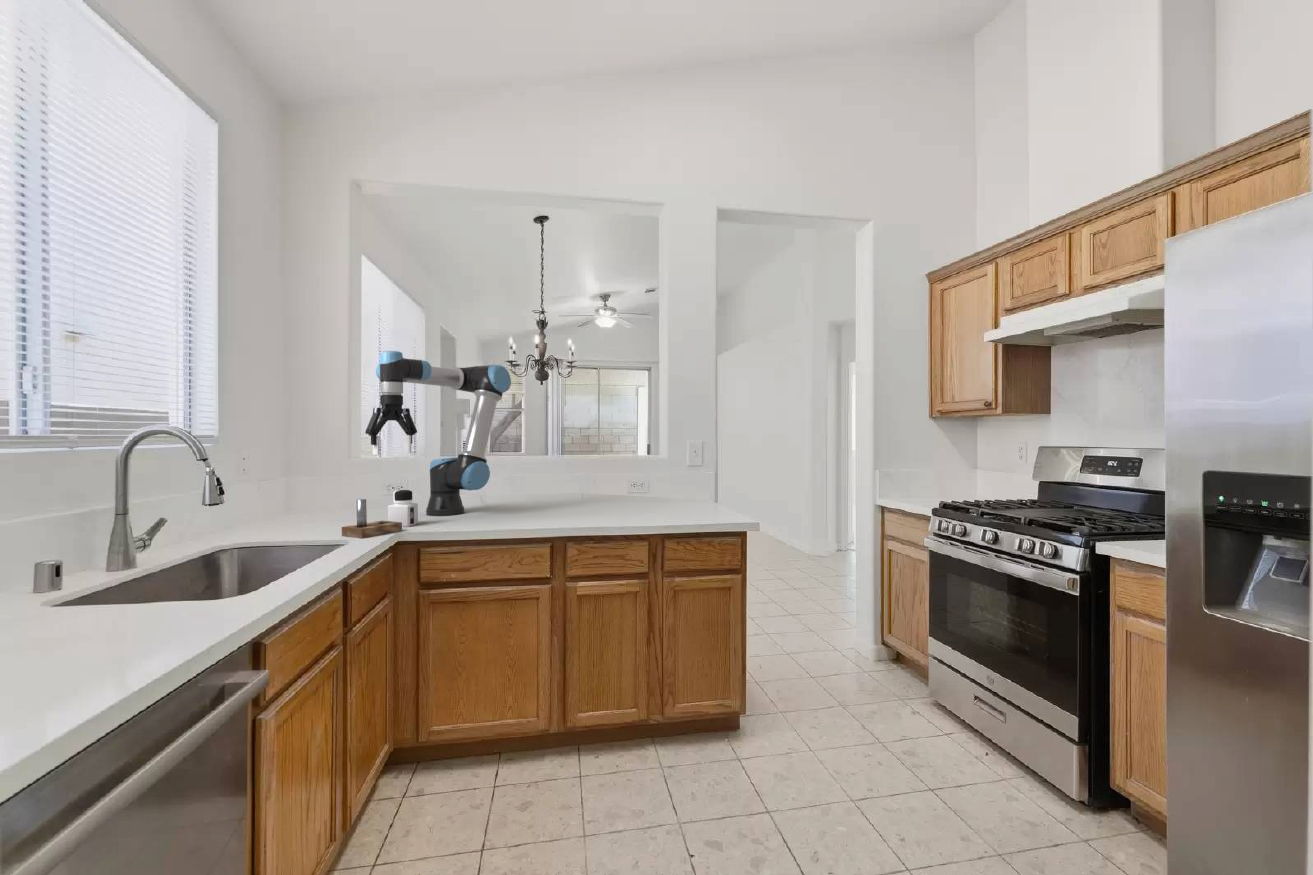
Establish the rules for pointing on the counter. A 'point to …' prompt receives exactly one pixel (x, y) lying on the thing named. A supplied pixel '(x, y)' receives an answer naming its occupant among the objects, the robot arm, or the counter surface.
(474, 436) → the robot arm
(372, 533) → the hole block
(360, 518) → the pin
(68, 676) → the counter surface
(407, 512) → the container
